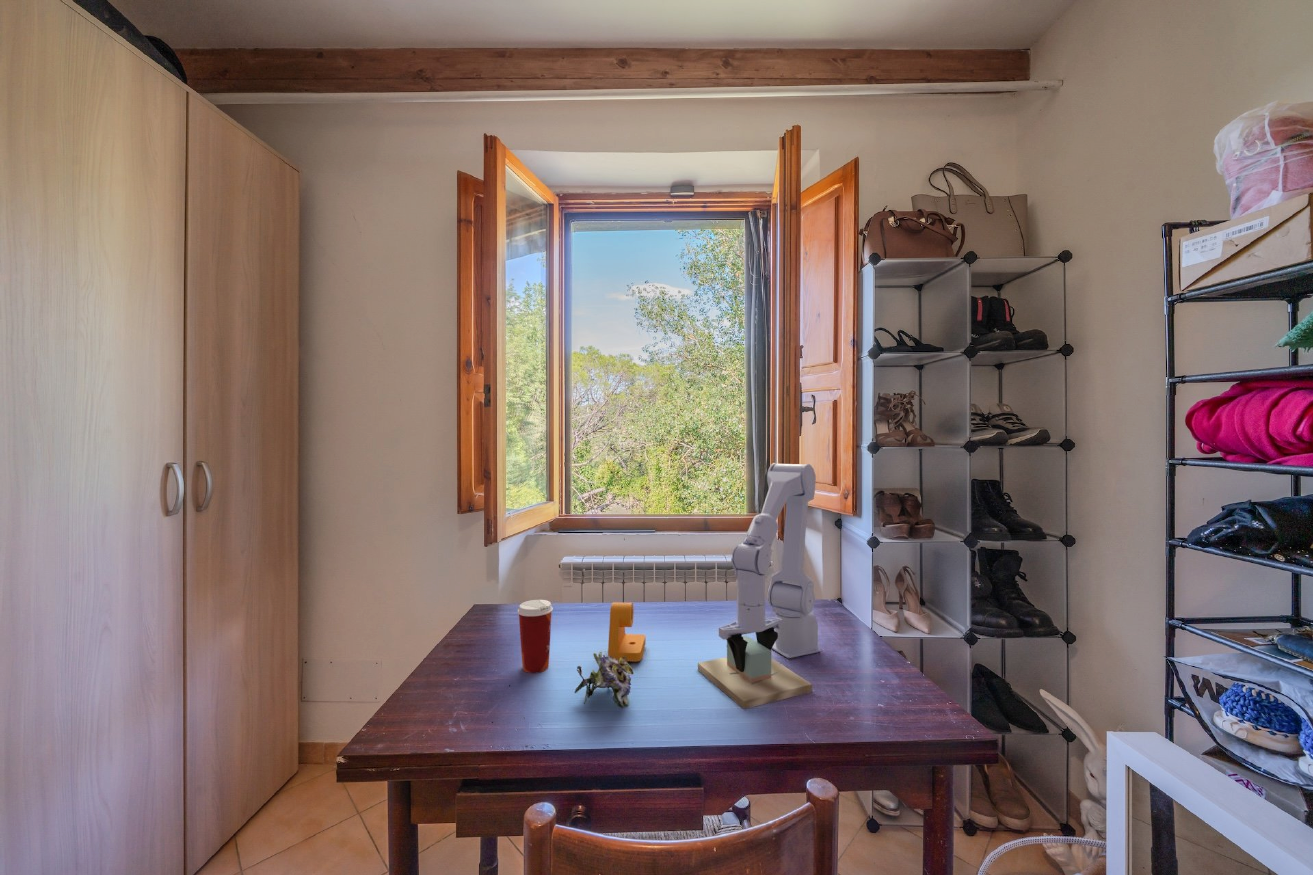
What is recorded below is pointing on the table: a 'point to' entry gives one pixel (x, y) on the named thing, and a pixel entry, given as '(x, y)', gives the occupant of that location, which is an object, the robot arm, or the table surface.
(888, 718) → the table surface
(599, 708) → the table surface
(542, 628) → the paper cup
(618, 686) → the passion flower
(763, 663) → the block
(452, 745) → the table surface
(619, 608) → the bracket
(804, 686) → the birch board
